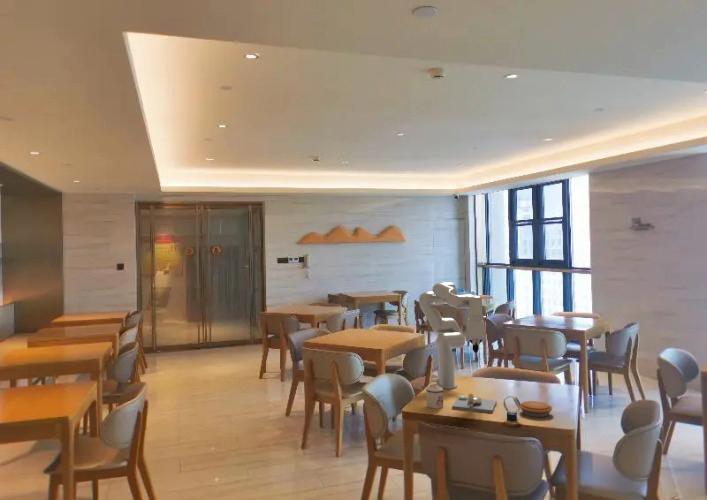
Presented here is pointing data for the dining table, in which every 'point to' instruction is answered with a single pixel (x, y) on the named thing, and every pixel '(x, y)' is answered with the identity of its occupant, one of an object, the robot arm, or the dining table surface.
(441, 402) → the teacup with lid
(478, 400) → the footscrew knob
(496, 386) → the dining table surface
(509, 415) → the watch
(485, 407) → the base plate
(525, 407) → the pie
